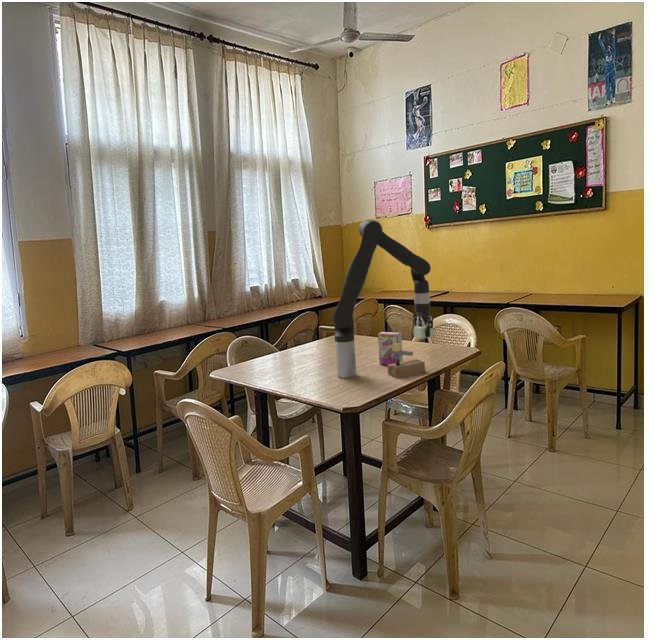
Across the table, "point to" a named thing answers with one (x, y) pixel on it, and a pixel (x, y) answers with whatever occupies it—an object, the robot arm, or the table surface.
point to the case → (406, 368)
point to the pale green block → (422, 332)
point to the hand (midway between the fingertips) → (423, 335)
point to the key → (399, 352)
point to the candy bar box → (388, 347)
